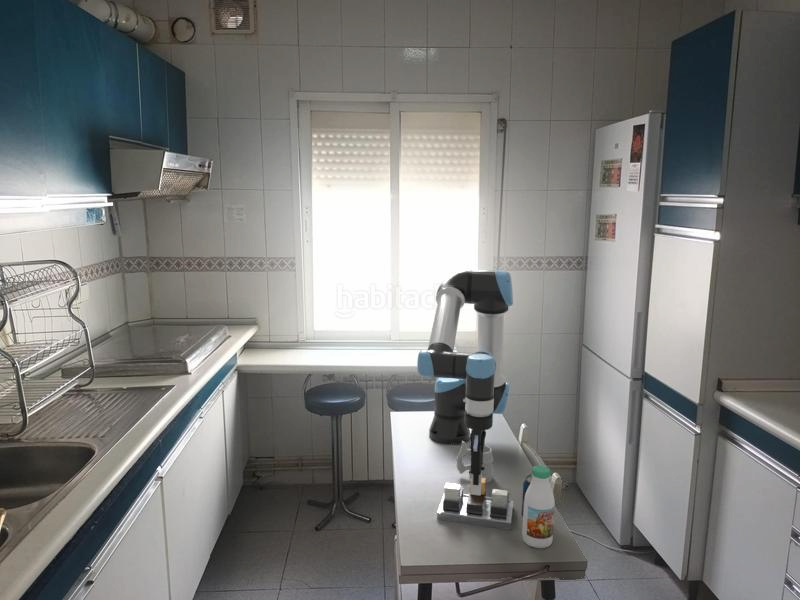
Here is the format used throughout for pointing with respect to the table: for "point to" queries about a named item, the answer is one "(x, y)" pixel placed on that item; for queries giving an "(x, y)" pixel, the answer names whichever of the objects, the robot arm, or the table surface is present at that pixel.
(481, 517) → the breaker panel
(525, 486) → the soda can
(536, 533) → the milk bottle
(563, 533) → the table surface
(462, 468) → the mug
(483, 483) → the toggle
